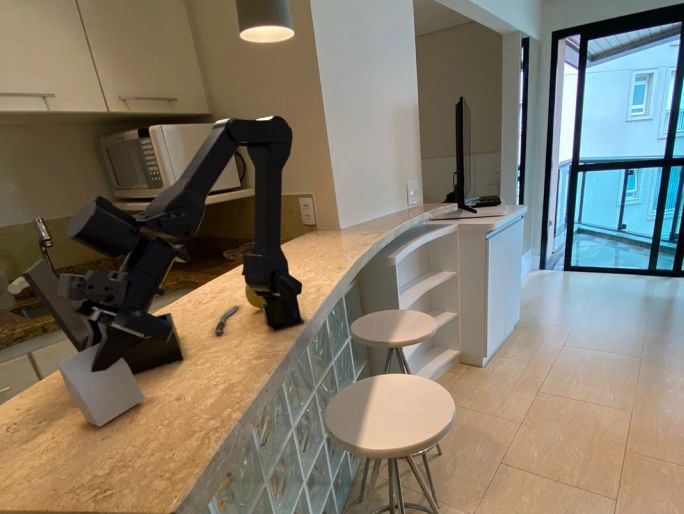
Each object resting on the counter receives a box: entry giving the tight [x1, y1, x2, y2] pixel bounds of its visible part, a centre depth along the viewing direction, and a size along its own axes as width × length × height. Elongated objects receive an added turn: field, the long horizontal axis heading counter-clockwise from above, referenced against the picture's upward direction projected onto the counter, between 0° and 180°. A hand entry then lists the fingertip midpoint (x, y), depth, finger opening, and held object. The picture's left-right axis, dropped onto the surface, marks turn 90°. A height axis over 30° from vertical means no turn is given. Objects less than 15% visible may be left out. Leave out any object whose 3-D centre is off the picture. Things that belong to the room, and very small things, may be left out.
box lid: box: [7, 258, 89, 353], centre depth 67 cm, size 14×12×4 cm
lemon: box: [244, 283, 264, 311], centre depth 93 cm, size 6×6×8 cm
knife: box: [215, 305, 239, 335], centre depth 90 cm, size 17×1×3 cm
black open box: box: [85, 312, 184, 375], centre depth 75 cm, size 14×12×6 cm
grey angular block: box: [56, 343, 146, 428], centre depth 58 cm, size 4×7×10 cm, turn 149°
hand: (90, 373), depth 57 cm, fingers closed on grey angular block, 2 cm apart
